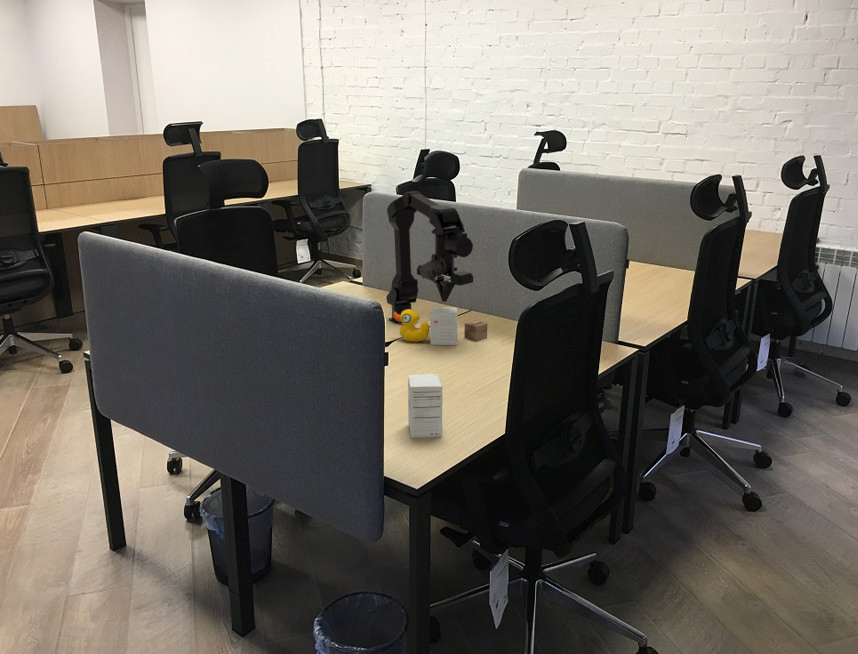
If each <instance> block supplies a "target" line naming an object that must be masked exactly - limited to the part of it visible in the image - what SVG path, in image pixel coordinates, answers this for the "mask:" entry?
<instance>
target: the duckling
mask: <svg viewBox="0 0 858 654" xmlns="http://www.w3.org/2000/svg"><path fill="white" fill-rule="evenodd" d="M393 315H394V318H395V320H397V321H399V322H402V323H403V324H401V326H400V327H399V333H400V336H401V338H403V340H404V341H407V342H414V343H418V342H422V341H424V340H426V339H427V338H428V337H429V335H430V324H429V323H428V322H427V321H422V322H421V324H420V326H419V327H416V326H415V325H416V324H417V322H418V321H419V320H420V315H419V314H418V313H417V312H416V311H415V310H413V309H412V310H411V309H407V310H404V311H403V312H402V313H401V315H399V314H397V313H396V312H394V314H393Z"/></svg>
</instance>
